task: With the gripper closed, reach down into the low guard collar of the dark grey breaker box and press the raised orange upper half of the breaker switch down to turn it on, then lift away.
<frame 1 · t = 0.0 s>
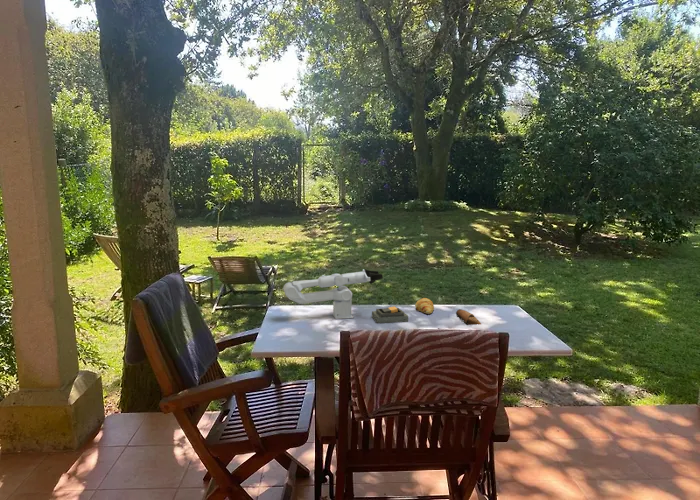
hand: (380, 274, 278), 22 cm above the table, tool horizontal, fingers open, 7 cm apart
breaker switch: (389, 310, 272), point 5 cm above the table, hinge at -10.0°
breaker box: (389, 319, 273), on the table
brown pointed cylinder: (468, 320, 274), on the table
croissant: (424, 310, 292), on the table
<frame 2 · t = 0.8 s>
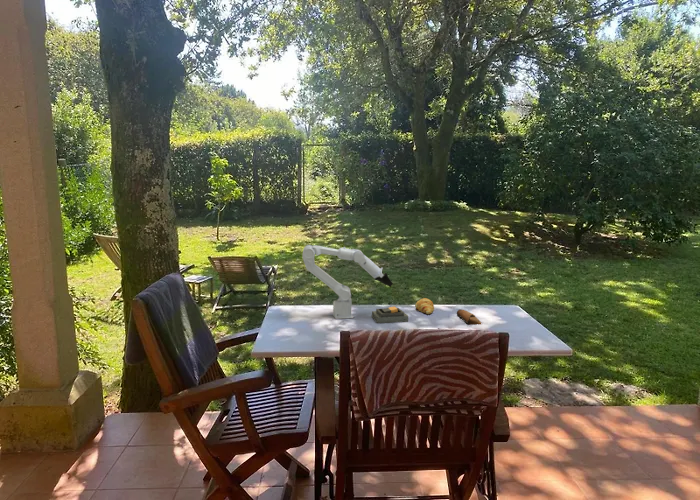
hand: (389, 284, 276), 17 cm above the table, tool tilted 50°, fingers open, 7 cm apart
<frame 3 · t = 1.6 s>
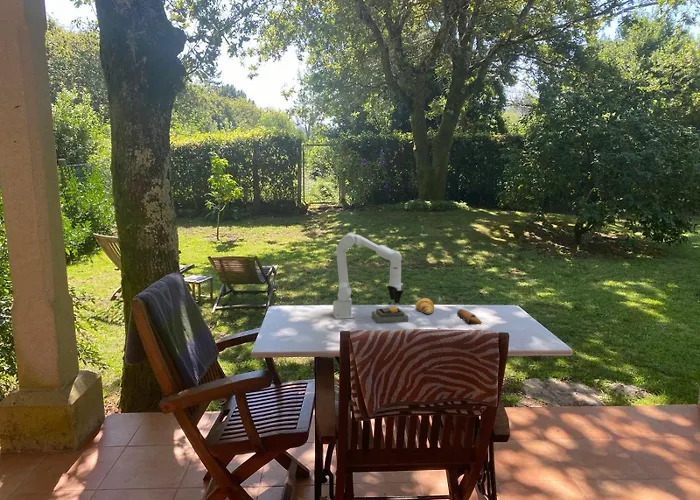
hand: (394, 301, 272), 9 cm above the table, tool pointing down, fingers open, 7 cm apart
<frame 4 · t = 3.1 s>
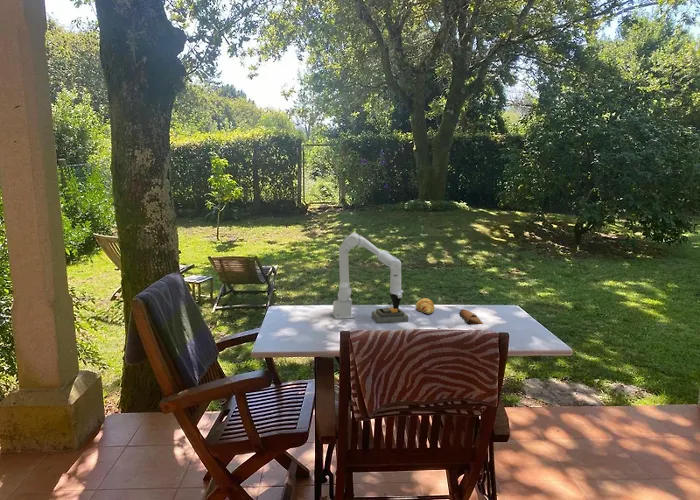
hand: (395, 308, 273), 6 cm above the table, tool pointing down, fingers closed, pressing on breaker switch
breaker switch: (389, 310, 272), point 5 cm above the table, hinge at -6.2°, touching gripper
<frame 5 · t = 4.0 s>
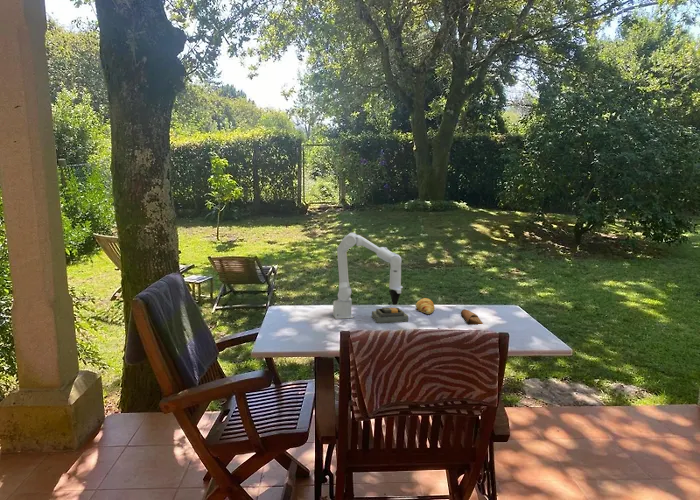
hand: (394, 304, 272), 8 cm above the table, tool pointing down, fingers closed
breaker switch: (390, 310, 272), point 5 cm above the table, hinge at 4.0°
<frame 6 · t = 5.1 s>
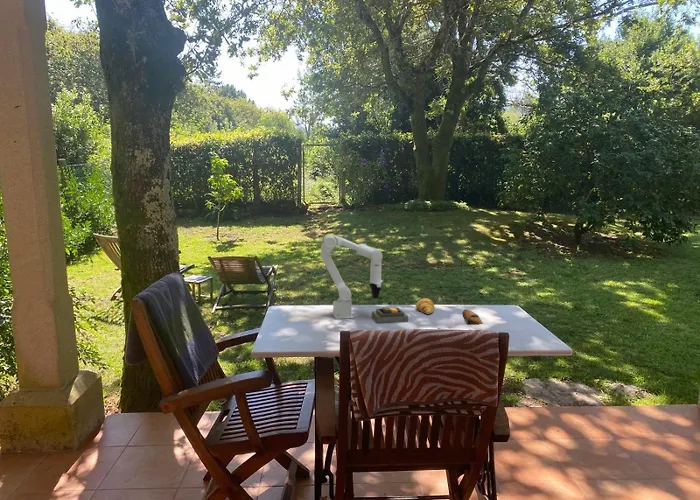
hand: (375, 297, 277), 10 cm above the table, tool pointing down, fingers closed
breaker switch: (390, 310, 272), point 5 cm above the table, hinge at 7.1°
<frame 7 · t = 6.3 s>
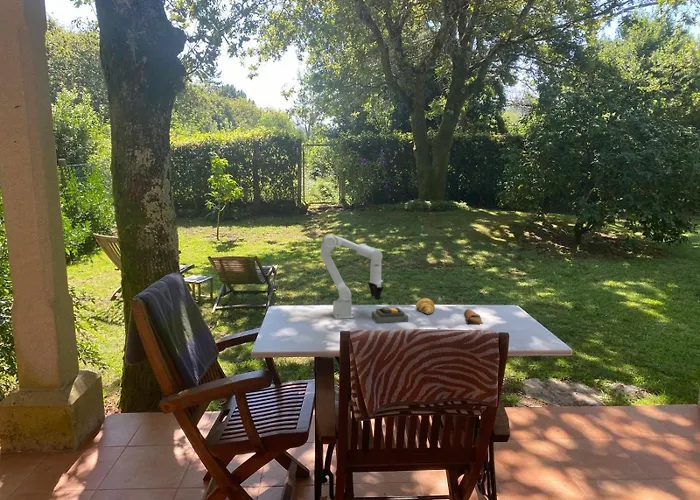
hand: (375, 297, 277), 10 cm above the table, tool pointing down, fingers open, 7 cm apart
breaker switch: (390, 310, 272), point 5 cm above the table, hinge at 8.4°
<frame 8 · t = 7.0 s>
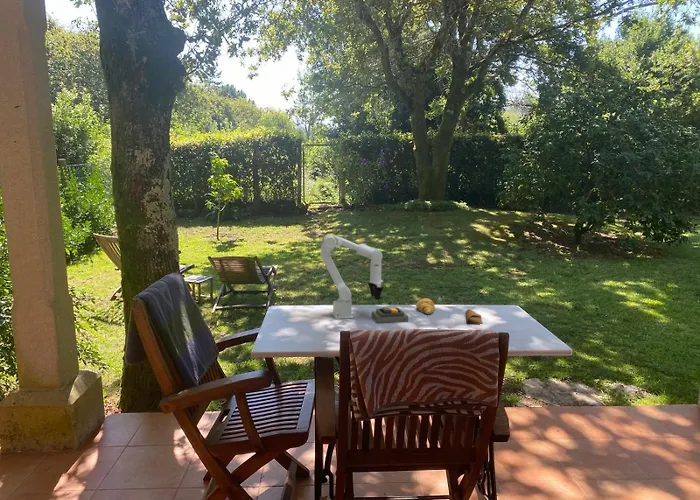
hand: (375, 297, 277), 10 cm above the table, tool pointing down, fingers open, 7 cm apart
breaker switch: (390, 310, 272), point 5 cm above the table, hinge at 8.7°
at the end: breaker switch at +9° (first picture: -10°) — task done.
